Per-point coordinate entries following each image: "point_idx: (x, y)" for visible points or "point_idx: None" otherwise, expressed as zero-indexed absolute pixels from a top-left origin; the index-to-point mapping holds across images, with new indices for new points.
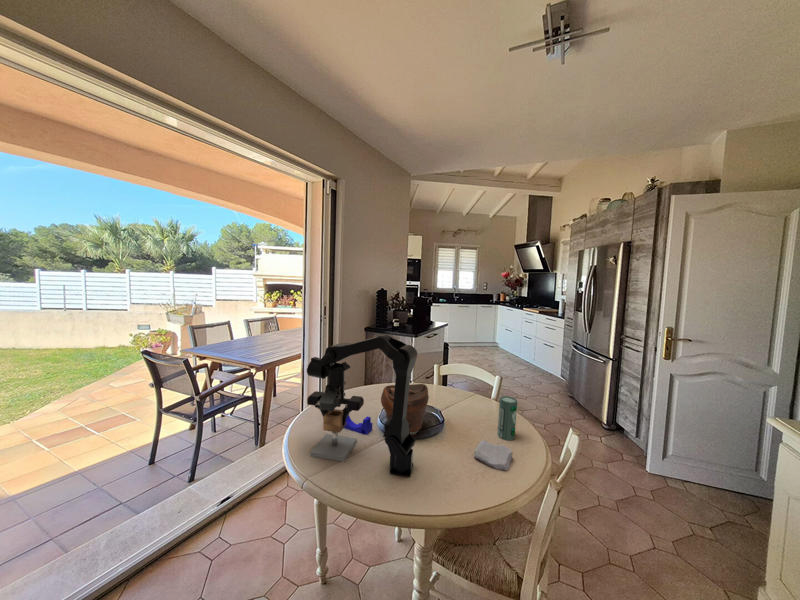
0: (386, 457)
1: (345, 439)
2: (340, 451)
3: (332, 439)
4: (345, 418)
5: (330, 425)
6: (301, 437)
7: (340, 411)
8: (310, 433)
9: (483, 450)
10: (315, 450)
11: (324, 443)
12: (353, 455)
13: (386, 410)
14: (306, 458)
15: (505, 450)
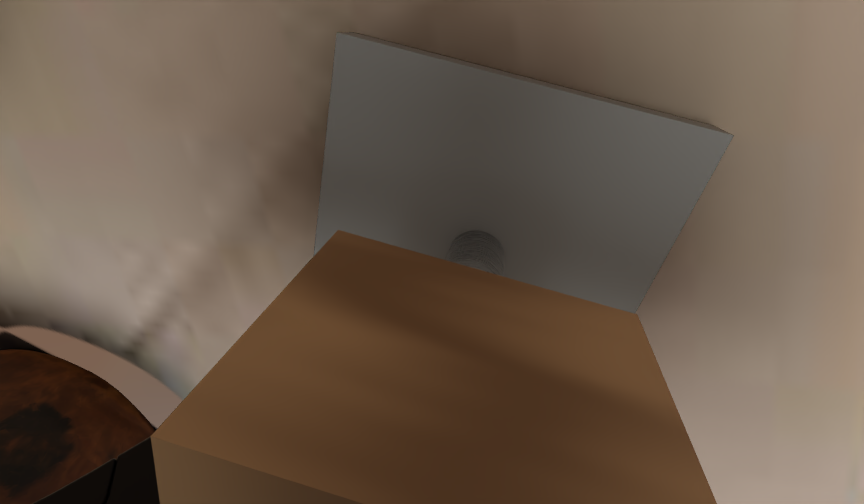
0: (40, 111)
1: None
2: (400, 146)
3: (491, 270)
4: (131, 455)
5: (501, 343)
6: (800, 414)
7: None
8: (712, 454)
9: None
10: (672, 166)
11: (579, 281)
12: (297, 140)
13: None
14: (759, 87)
15: None
